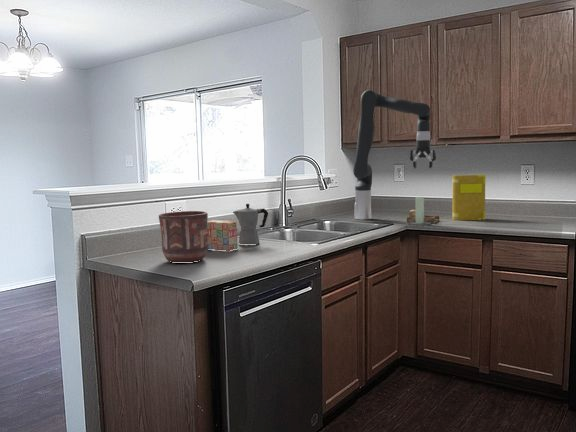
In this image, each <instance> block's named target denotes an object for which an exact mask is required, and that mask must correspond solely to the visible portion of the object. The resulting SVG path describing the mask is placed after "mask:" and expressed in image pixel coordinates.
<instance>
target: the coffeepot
mask: <svg viewBox="0 0 576 432" xmlns="http://www.w3.org/2000/svg"><path fill="white" fill-rule="evenodd" d="M245 207H246V208H242V209H237V210H234V211H233V212H232V213H233V214H234V215H235V217H236V219H238V222H239V226H240V231H239V237H238V239H239V240H238V244H239V243H240V244H258V243H260V238H259V233H258V230H257V226H258V219H259V218H258V217H259V214H262V213H263V218H262V220H261V221H262V224H260V225H259V228H264V227H265V226H266V222H267V219H268V216H269V212H268V211H267V209H266V208H256V209H254V208H251V207H250V203H246V204H245Z"/></svg>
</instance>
